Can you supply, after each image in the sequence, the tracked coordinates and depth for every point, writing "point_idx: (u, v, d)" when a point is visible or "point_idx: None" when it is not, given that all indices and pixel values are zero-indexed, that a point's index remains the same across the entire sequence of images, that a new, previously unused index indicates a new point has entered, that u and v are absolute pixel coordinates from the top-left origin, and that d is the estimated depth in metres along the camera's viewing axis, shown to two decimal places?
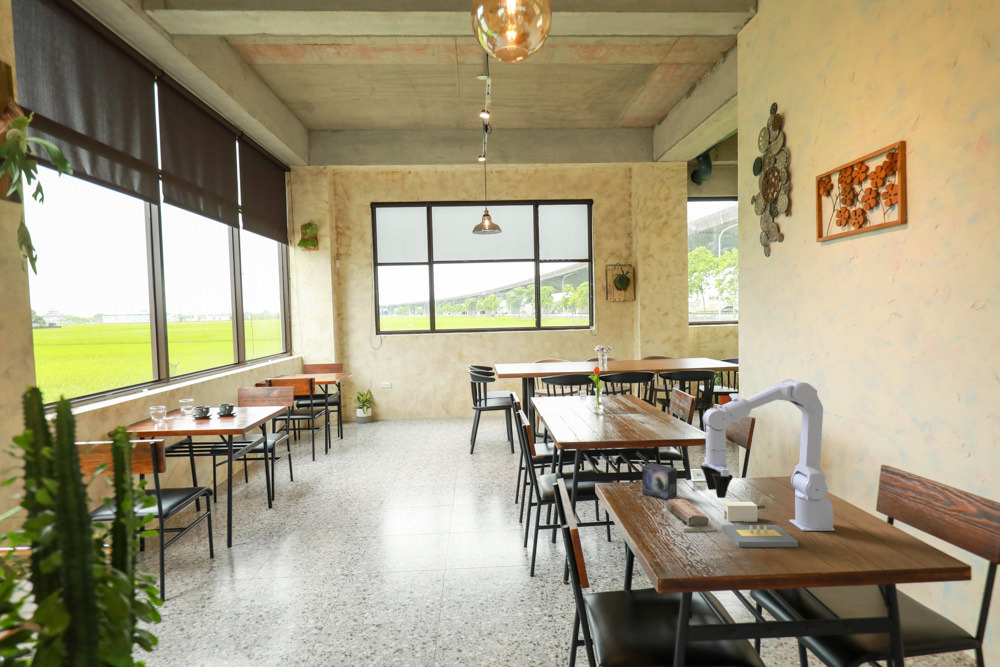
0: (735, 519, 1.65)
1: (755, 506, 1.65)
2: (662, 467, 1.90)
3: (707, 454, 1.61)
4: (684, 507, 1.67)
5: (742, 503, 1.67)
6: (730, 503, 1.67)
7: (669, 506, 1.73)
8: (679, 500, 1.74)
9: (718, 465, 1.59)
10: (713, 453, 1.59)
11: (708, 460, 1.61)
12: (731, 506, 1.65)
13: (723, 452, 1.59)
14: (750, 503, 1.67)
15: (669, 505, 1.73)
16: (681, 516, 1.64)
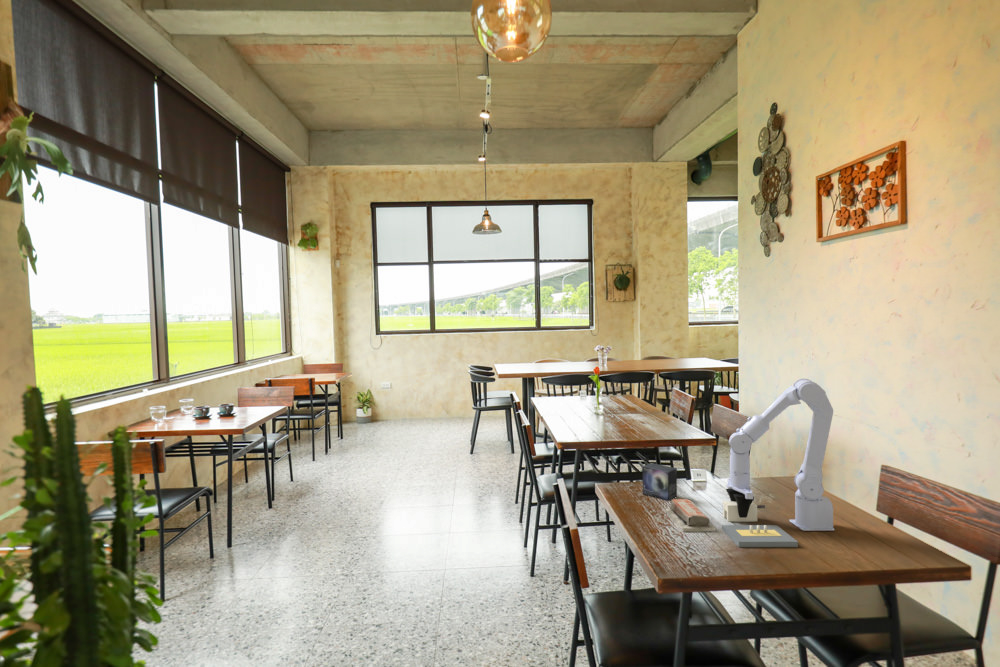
0: (735, 519, 1.65)
1: (755, 506, 1.65)
2: (662, 467, 1.90)
3: (731, 477, 1.67)
4: (686, 507, 1.67)
5: None
6: (730, 503, 1.67)
7: (672, 506, 1.73)
8: (683, 500, 1.74)
9: (742, 488, 1.64)
10: (737, 476, 1.65)
11: (732, 482, 1.66)
12: (731, 506, 1.65)
13: (747, 475, 1.64)
14: None
15: (672, 505, 1.73)
16: (682, 516, 1.64)
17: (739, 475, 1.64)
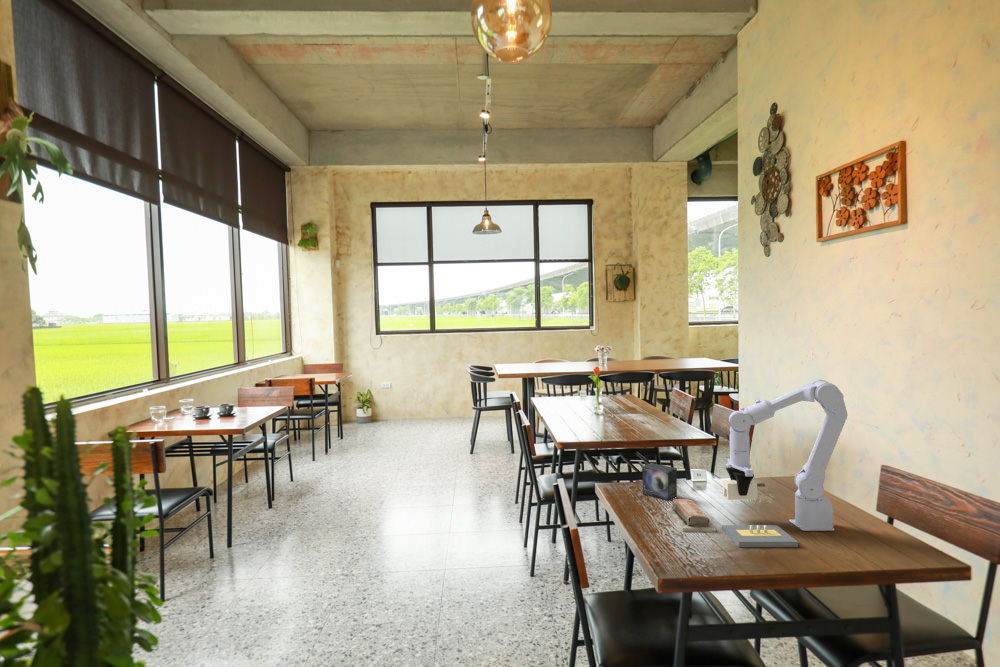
0: (735, 497, 1.65)
1: (755, 484, 1.65)
2: (662, 467, 1.90)
3: (731, 455, 1.66)
4: (687, 507, 1.67)
5: None
6: (730, 481, 1.67)
7: (674, 506, 1.73)
8: (684, 500, 1.73)
9: (742, 466, 1.64)
10: (737, 454, 1.65)
11: (732, 461, 1.66)
12: (731, 484, 1.65)
13: (747, 453, 1.64)
14: None
15: (674, 505, 1.73)
16: (682, 516, 1.64)
17: (739, 453, 1.64)
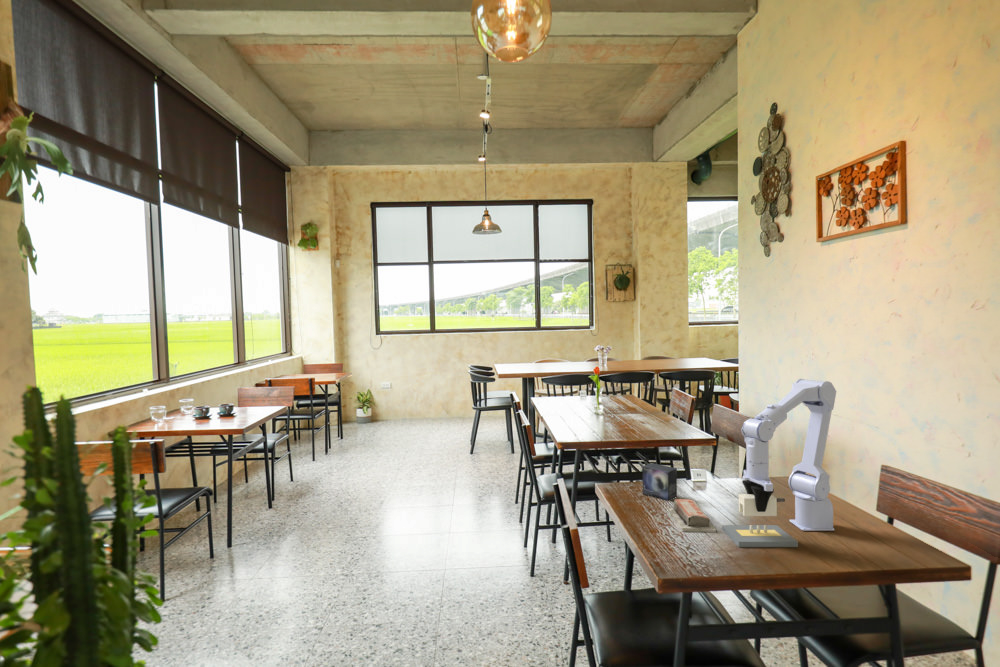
0: (752, 513, 1.51)
1: (774, 499, 1.50)
2: (662, 467, 1.90)
3: (748, 467, 1.52)
4: (687, 507, 1.66)
5: None
6: (746, 496, 1.53)
7: (675, 506, 1.73)
8: (686, 500, 1.73)
9: (760, 479, 1.49)
10: (755, 466, 1.50)
11: (749, 473, 1.51)
12: (748, 499, 1.51)
13: (766, 465, 1.50)
14: None
15: (675, 505, 1.73)
16: (683, 516, 1.64)
17: (757, 465, 1.50)
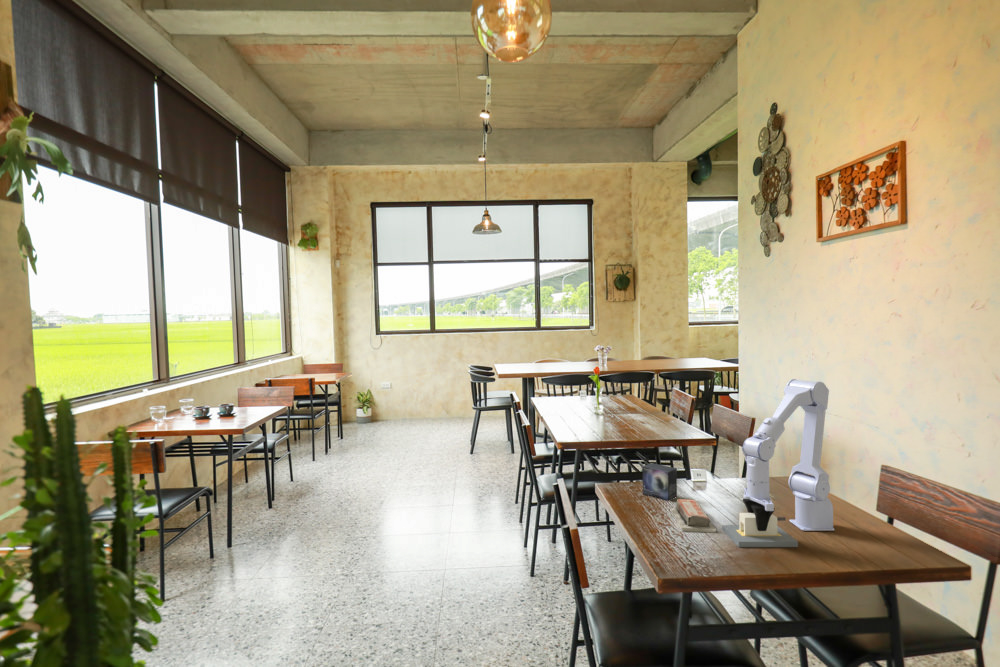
0: (753, 532, 1.50)
1: (775, 518, 1.50)
2: (662, 467, 1.90)
3: (749, 486, 1.52)
4: (689, 507, 1.66)
5: None
6: (747, 514, 1.52)
7: (677, 506, 1.73)
8: (688, 500, 1.73)
9: (761, 498, 1.49)
10: (755, 485, 1.50)
11: (750, 492, 1.51)
12: (748, 518, 1.50)
13: (766, 484, 1.49)
14: None
15: (677, 505, 1.73)
16: (684, 516, 1.64)
17: (758, 484, 1.49)
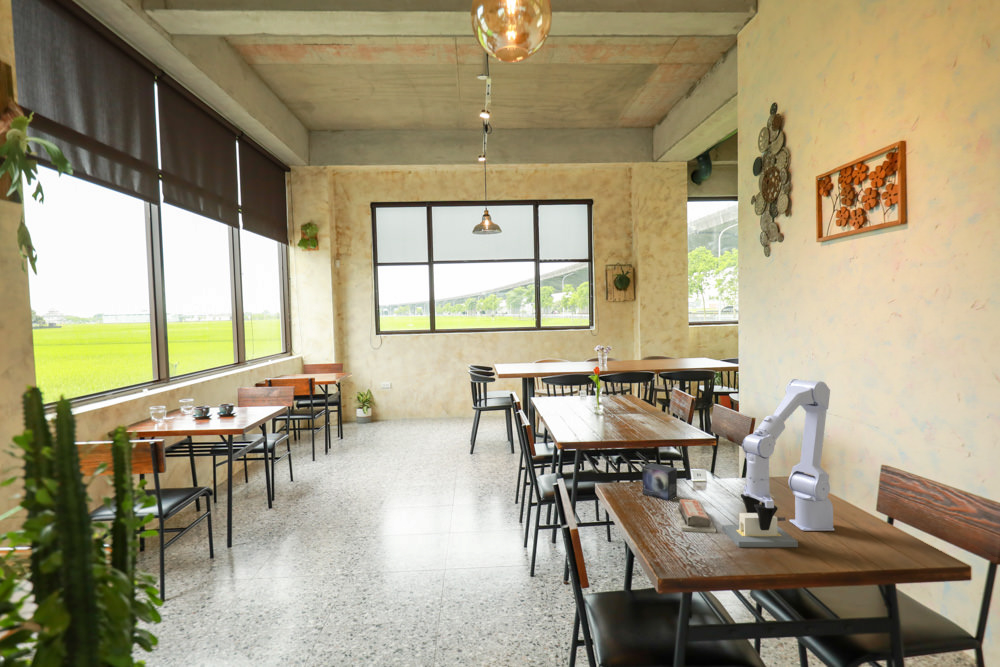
0: (753, 532, 1.50)
1: (775, 518, 1.50)
2: (662, 467, 1.90)
3: (749, 483, 1.52)
4: (690, 507, 1.66)
5: None
6: (747, 515, 1.52)
7: (680, 506, 1.73)
8: (690, 500, 1.73)
9: (761, 495, 1.49)
10: (755, 482, 1.50)
11: (750, 489, 1.51)
12: (748, 518, 1.50)
13: (766, 481, 1.49)
14: None
15: (680, 505, 1.73)
16: (684, 516, 1.64)
17: (758, 481, 1.49)
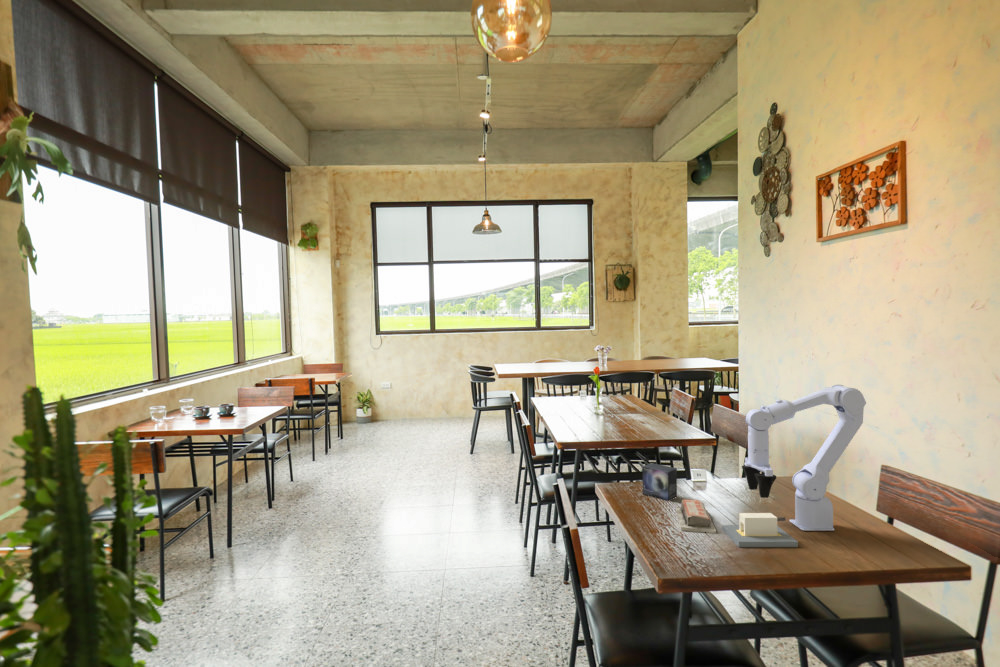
0: (753, 532, 1.50)
1: (775, 518, 1.50)
2: (662, 467, 1.90)
3: (750, 454, 1.62)
4: (691, 507, 1.66)
5: (760, 515, 1.52)
6: (747, 515, 1.52)
7: (682, 506, 1.73)
8: (693, 500, 1.73)
9: (761, 465, 1.60)
10: (756, 453, 1.60)
11: (751, 460, 1.62)
12: (748, 518, 1.50)
13: (766, 452, 1.60)
14: (769, 515, 1.52)
15: (682, 505, 1.73)
16: (685, 516, 1.64)
17: (758, 452, 1.60)
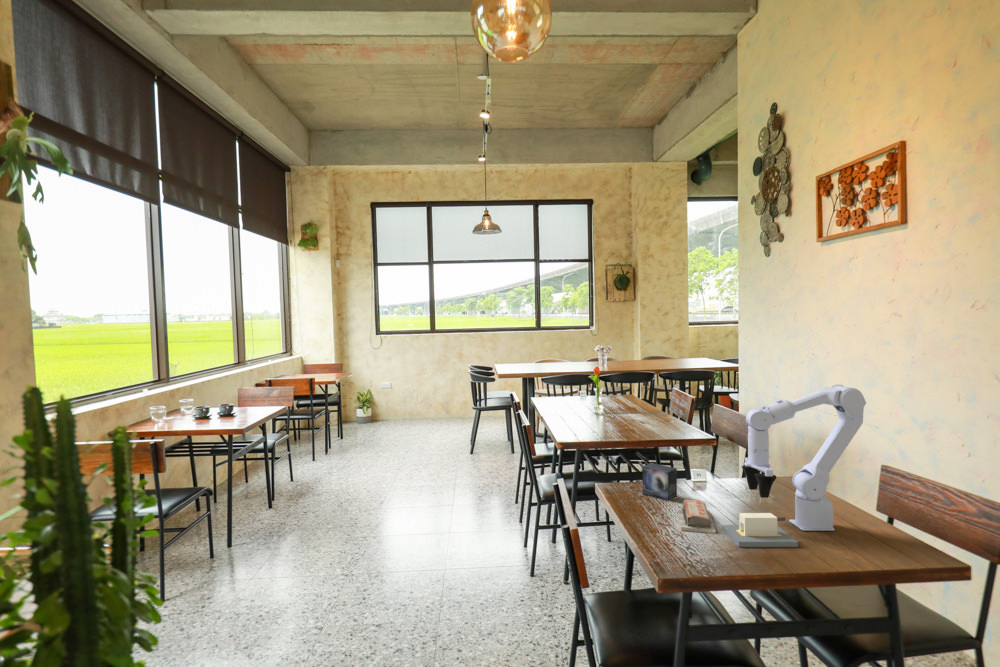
0: (753, 532, 1.50)
1: (775, 518, 1.50)
2: (662, 467, 1.90)
3: (750, 454, 1.62)
4: (692, 507, 1.66)
5: (760, 515, 1.52)
6: (747, 515, 1.52)
7: (683, 506, 1.73)
8: (694, 501, 1.73)
9: (761, 465, 1.60)
10: (756, 453, 1.60)
11: (751, 460, 1.62)
12: (748, 518, 1.50)
13: (766, 452, 1.60)
14: (769, 515, 1.52)
15: (683, 505, 1.73)
16: None
17: (758, 452, 1.60)
